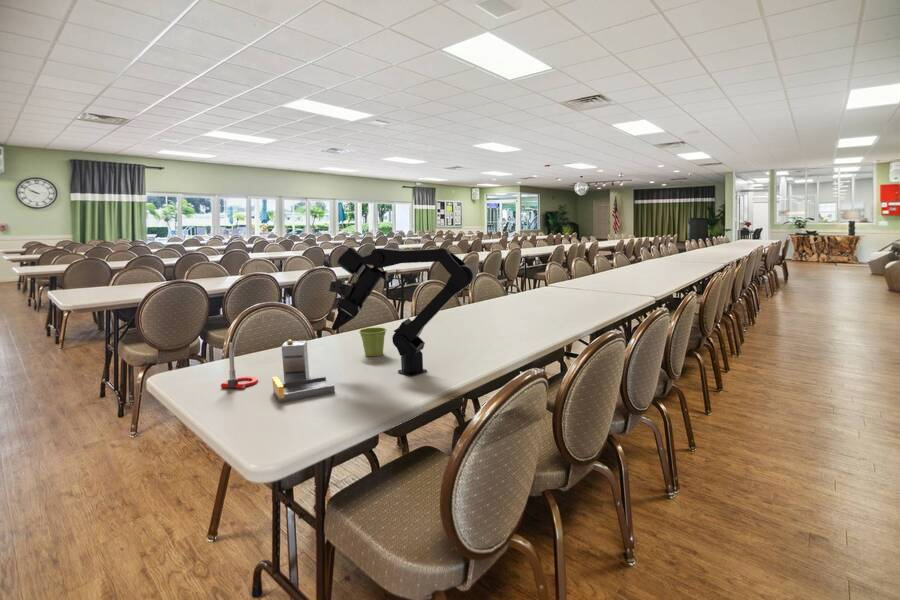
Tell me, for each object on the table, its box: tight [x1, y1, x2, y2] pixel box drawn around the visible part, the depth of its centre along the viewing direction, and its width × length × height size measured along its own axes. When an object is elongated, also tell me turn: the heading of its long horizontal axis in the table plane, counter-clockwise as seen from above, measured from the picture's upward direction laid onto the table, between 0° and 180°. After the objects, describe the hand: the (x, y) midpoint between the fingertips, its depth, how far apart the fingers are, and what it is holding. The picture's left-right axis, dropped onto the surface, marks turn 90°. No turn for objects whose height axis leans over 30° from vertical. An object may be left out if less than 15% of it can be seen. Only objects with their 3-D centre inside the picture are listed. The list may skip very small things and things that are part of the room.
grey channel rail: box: [271, 375, 336, 404], centre depth 125 cm, size 14×9×4 cm
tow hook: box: [220, 342, 259, 390], centre depth 133 cm, size 8×13×9 cm
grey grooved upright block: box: [281, 339, 310, 383], centre depth 135 cm, size 6×6×12 cm
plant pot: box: [358, 326, 388, 357], centre depth 161 cm, size 9×9×9 cm
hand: (335, 327), depth 139 cm, fingers open, 9 cm apart
